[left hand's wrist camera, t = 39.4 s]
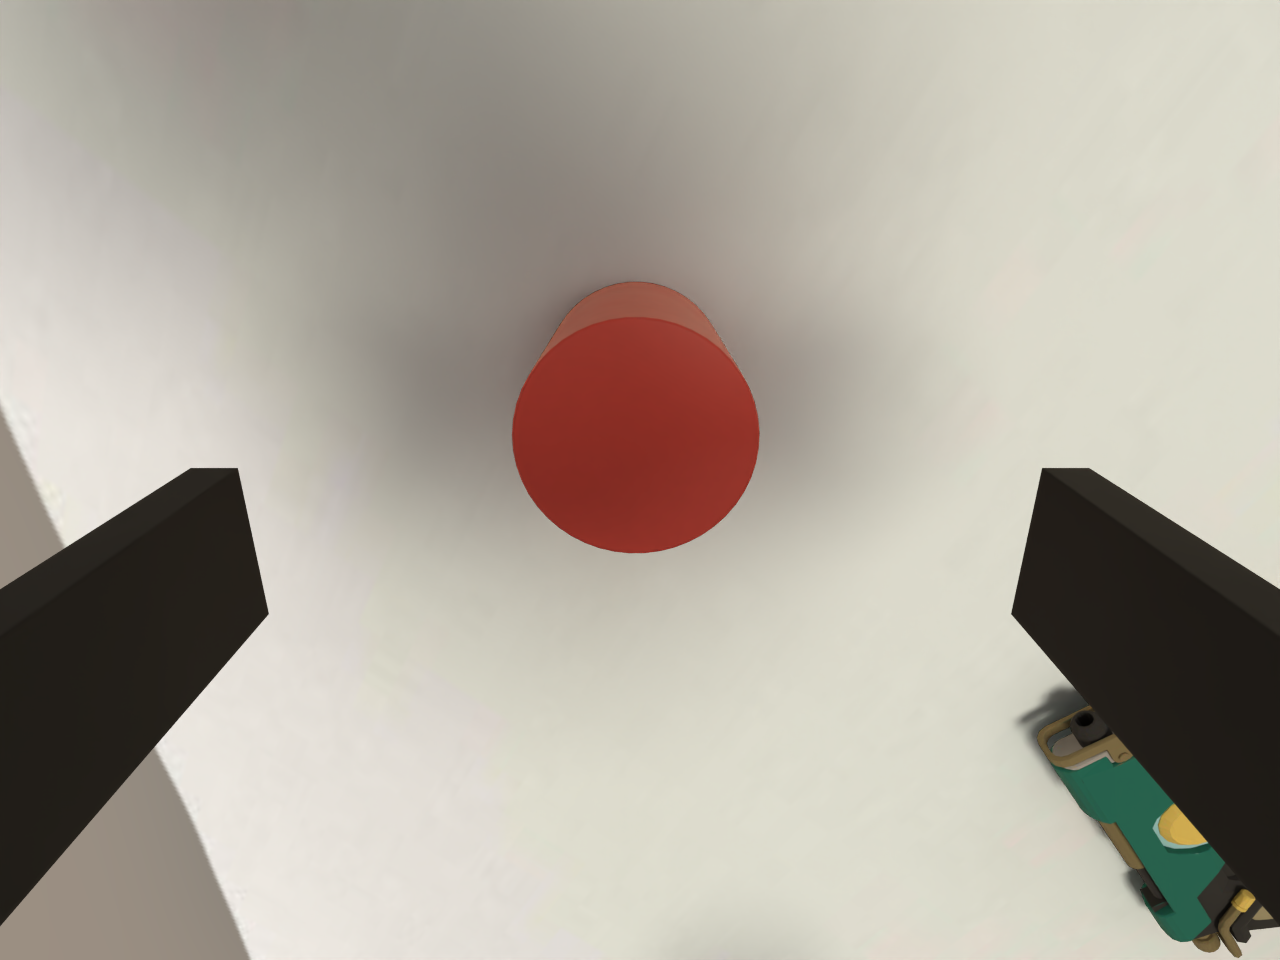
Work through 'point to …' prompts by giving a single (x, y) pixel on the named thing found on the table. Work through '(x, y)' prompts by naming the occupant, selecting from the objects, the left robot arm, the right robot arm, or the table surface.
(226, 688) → the table surface
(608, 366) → the can
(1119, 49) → the table surface
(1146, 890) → the spray gun
